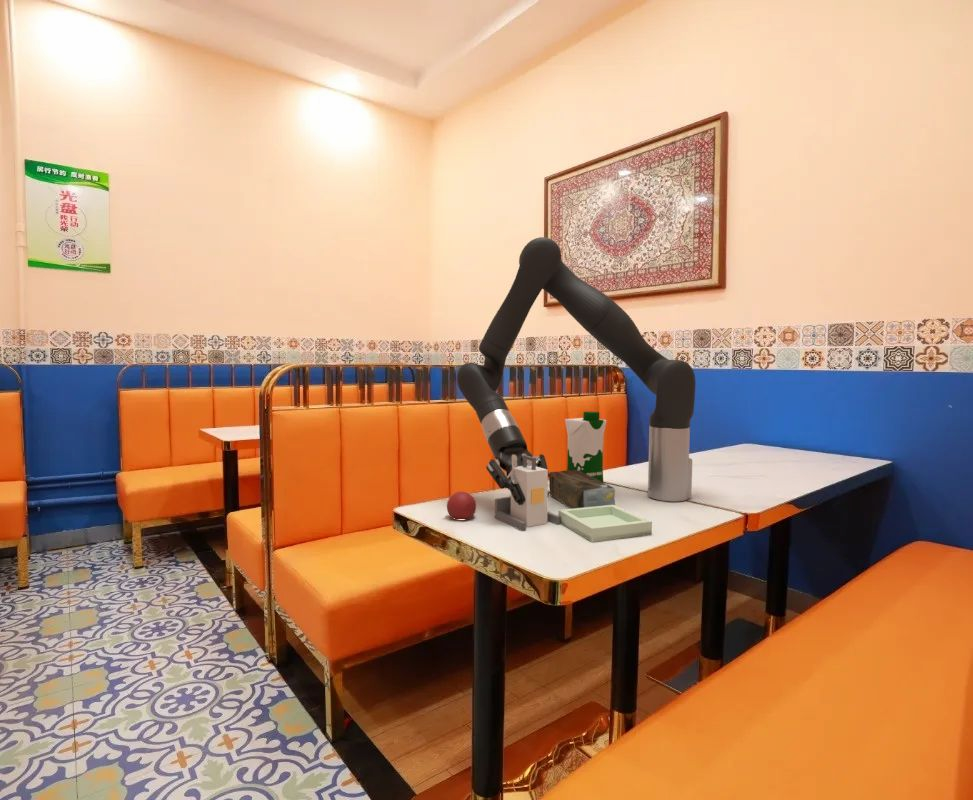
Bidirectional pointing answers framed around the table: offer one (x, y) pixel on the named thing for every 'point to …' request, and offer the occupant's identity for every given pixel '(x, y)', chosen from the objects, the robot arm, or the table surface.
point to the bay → (505, 515)
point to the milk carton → (586, 444)
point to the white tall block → (531, 493)
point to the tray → (604, 523)
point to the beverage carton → (580, 489)
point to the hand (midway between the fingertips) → (534, 500)
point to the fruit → (461, 505)
